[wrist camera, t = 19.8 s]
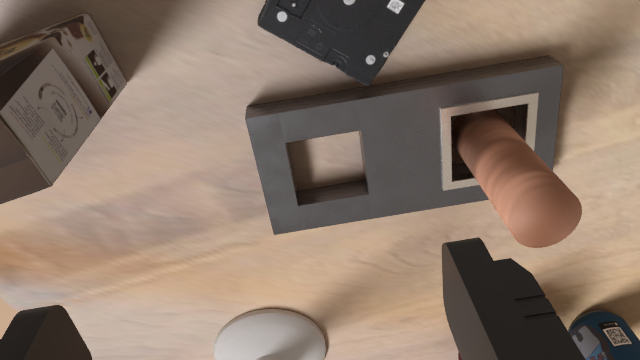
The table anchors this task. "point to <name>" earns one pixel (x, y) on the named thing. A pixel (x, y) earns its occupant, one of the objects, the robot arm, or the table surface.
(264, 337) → the candlestick
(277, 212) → the grey peg board
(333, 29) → the disk drive
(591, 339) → the soda can
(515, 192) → the terracotta peg
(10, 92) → the coffee box
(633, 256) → the table surface
